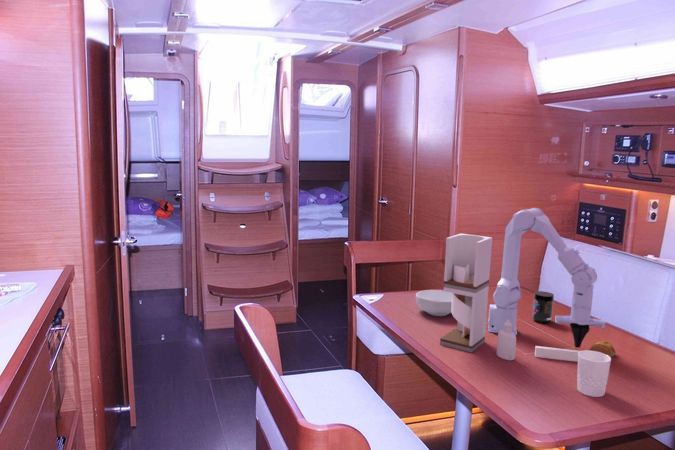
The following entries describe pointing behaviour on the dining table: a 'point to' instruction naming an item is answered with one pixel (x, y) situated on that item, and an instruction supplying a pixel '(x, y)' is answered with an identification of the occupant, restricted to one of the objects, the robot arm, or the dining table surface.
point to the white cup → (592, 372)
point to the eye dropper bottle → (506, 342)
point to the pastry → (603, 348)
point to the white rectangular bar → (556, 353)
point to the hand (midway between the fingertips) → (577, 346)
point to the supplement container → (543, 307)
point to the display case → (467, 288)
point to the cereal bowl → (434, 302)
